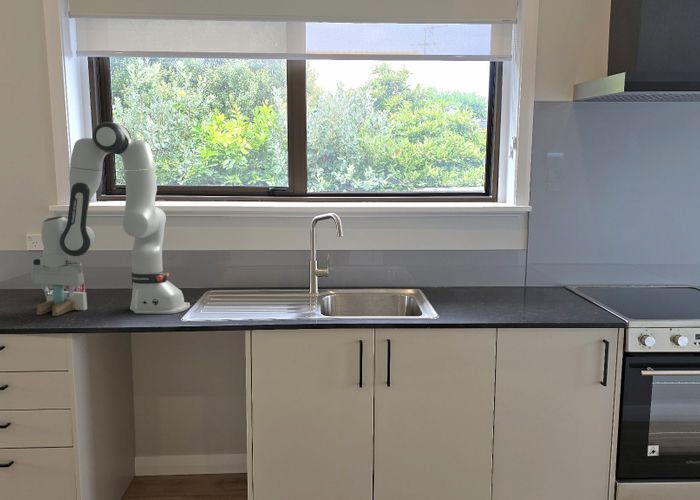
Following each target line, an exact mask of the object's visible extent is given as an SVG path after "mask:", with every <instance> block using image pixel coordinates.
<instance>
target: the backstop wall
mask: <svg viewBox="0 0 700 500" xmlns="http://www.w3.org/2000/svg"><path fill="white" fill-rule="evenodd" d="M49 291H51V295H50V296H45V297H46V302H47V301H50V300H53V299H54V298H53V289H51V290H50V289H49ZM67 292H69V291H66V290H64V299H66V300H74V301H75V309H74V311H75V310H77V311H86V310H88V299H87V292H86V291H85V292H73V297H67Z"/></svg>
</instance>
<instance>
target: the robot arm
mask: <svg viewBox="0 0 700 500" xmlns="http://www.w3.org/2000/svg"><path fill="white" fill-rule="evenodd" d="M114 154H115V155H119V156H120V157H121V160H122V165H123V173H124V182H125V204H124V205H125V206H124V216H123V219H122V222H121V224H122V229H123V231H124V232H125V233H126V234H127V235H128V236H129V237H132V238H134V239H133V240H134V241H133V247H132V249H131V268H132V272H131V284H132V293H131V294H132V295H131V303H130V307H129V310H130V311H132V312H133V313H134V314H164V315H165V314H169V315H170V314H171V315H172V314H173V315H174V314H177V313H181V312H183V311H186V310H188V309H189V308H190V307H191V304H190V302H185V297H184V294H183V292H182V290H181V289H180V288H178V287H176V285H174V284H173V283H171V281H169V280H168V277H169V276H170V275H169V274H170V273H169V272H167V273H166V272H165V271H164V267H163V244H164V237H165V236H164V235H165V226H166V222H167V215H166V213H165V211H164V210H163V209H161V208H160V207H157V206H155V205H156V196H157V192H158V184H157V176H156V168H155V161H154V156H153V152H152V148H151V146H150V144H149V143H148V142H146V141H144V140H141V139H132V135H131V133H130V131H129V130H128V129H127V128H126V127H125V126H123V125H122V124H119V123H117V122H113V121H103V122H100V123H99V124H98V125H96V126H95V127H94V130H93V131H92V138H90V137H89V138H88V137H82V138H80V139H78V140H76V141H75V142H74V145H73V149H72V151H71V156H70V161H69V162H70V165H69V193H70V194H69V206H68V213H67V214H68V215H67V218H66V217H64V216H59V215H58V216H53V217H49V218H46V219H45V220H43V221H42V223H41V243H42V246H43V250H42V256H39V257H36V258H33V259H31V261H30V263H31V269H30V274H31V279H30V280H31V281H32V283H33V284H35V285H40V286H41V289H42V290H43V292H44V296H45V297H46V296H50V295H51V291H49V290H50V289H49V288H48V286H49V285H52V286H53V285H63V286H65V287H66V286H69V288H70V290H69V292H67V297H73V292H74V290H75V288H76V286H80V285H82V284H83V283H84V284H85V275H84V276H83V273H84V271H83V265H82V264H81V262H79V261H77V260H71V259H70V256H71V257H80V256H83V255H84V254H85V253H87V252H88V250H89V249H90V248H91V247H92V246H93V245H94V243H95V242H96V233H95V231H94V230H93V228H92V227H90V226H88V225H87V224H88V214H89V206H90V203H91V200H92V199H93V197H94V195H95V193H96V192H97V191H98V190H99V187H100V184H101V181H102V176H103V166H104V160H105V157H106V156H107V155H114Z"/></svg>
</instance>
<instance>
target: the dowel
mask: <svg viewBox="0 0 700 500" xmlns="http://www.w3.org/2000/svg"><path fill="white" fill-rule="evenodd" d="M52 290H53V298H54V305H57V304H60V303H62V302H64V291H65V290H64V285H52Z"/></svg>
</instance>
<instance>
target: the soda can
mask: <svg viewBox="0 0 700 500" xmlns="http://www.w3.org/2000/svg"><path fill="white" fill-rule="evenodd" d="M83 276H84V277H85V275H84V272H83ZM69 290H70V288H69V286H65V291H69ZM74 292H86V285H85V282H84V283H83V284H82V285H80V286H76V288H75V290H74Z"/></svg>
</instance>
